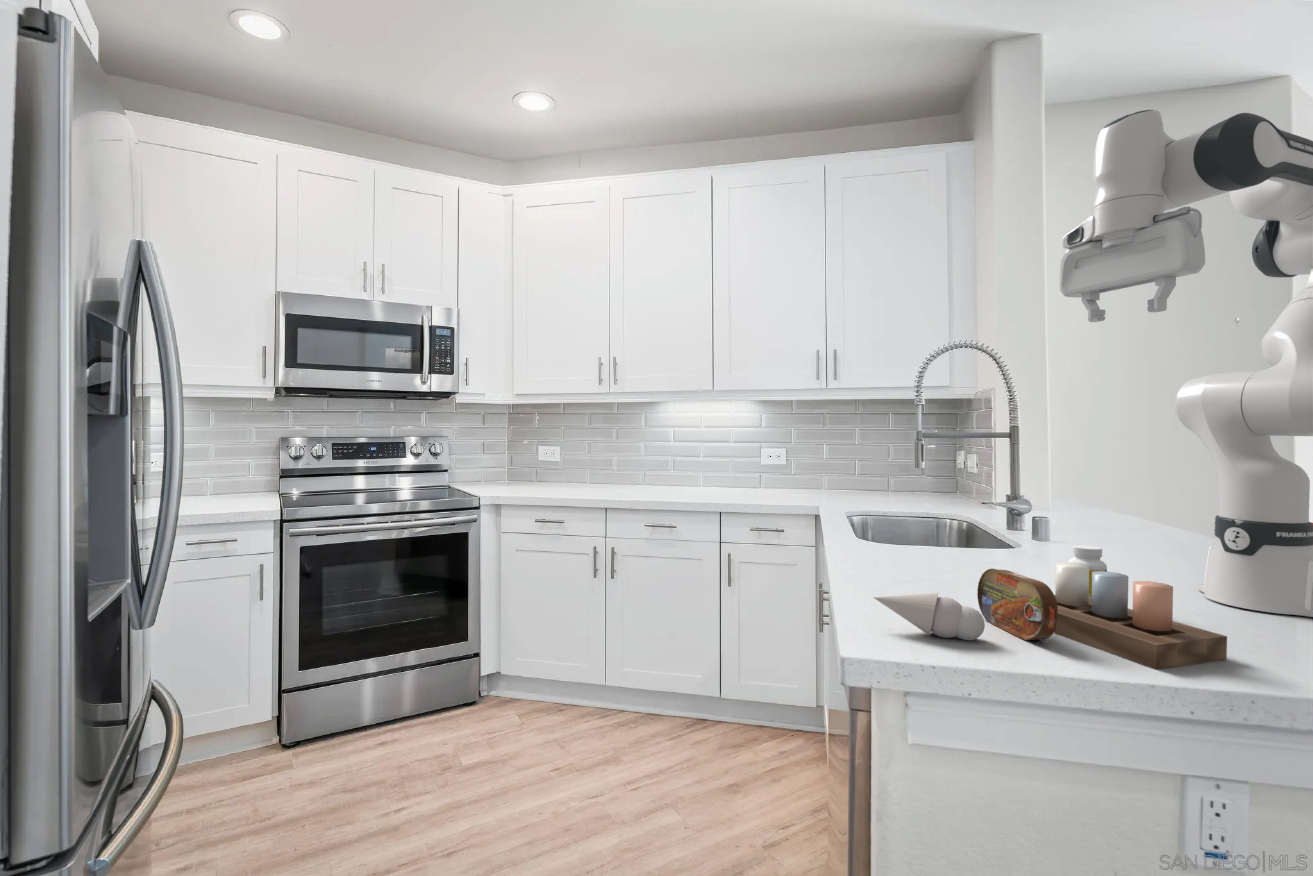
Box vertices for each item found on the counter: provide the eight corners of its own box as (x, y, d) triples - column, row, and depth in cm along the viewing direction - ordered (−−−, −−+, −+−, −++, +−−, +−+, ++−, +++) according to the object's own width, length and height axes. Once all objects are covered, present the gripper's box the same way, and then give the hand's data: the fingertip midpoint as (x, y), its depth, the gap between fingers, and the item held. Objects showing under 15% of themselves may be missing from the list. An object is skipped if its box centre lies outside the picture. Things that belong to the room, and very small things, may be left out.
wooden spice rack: (1073, 611, 104) (1073, 593, 104) (1226, 659, 83) (1226, 636, 83) (1012, 617, 101) (1012, 598, 101) (1155, 669, 80) (1156, 645, 80)
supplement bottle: (1112, 611, 104) (1113, 550, 104) (1075, 609, 105) (1076, 549, 105) (1097, 602, 110) (1098, 544, 109) (1061, 600, 111) (1062, 543, 111)
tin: (975, 616, 102) (975, 562, 102) (994, 615, 102) (994, 562, 102) (1040, 649, 87) (1040, 586, 87) (1062, 648, 87) (1063, 586, 87)
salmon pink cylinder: (1148, 620, 89) (1148, 580, 89) (1180, 629, 85) (1181, 587, 85) (1124, 622, 88) (1125, 582, 88) (1156, 632, 84) (1156, 589, 84)
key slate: (1106, 608, 95) (1107, 570, 94) (1135, 616, 91) (1135, 577, 90) (1084, 610, 93) (1084, 572, 93) (1112, 619, 89) (1112, 579, 89)
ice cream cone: (868, 624, 97) (978, 656, 91) (867, 607, 93) (983, 640, 86) (877, 588, 100) (985, 616, 94) (877, 569, 96) (990, 598, 89)
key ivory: (1070, 597, 100) (1070, 562, 100) (1095, 604, 96) (1096, 567, 96) (1048, 599, 99) (1049, 563, 99) (1073, 607, 95) (1073, 569, 95)
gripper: (1218, 204, 89) (1216, 305, 89) (1083, 243, 109) (1081, 327, 109) (1184, 199, 87) (1181, 303, 88) (1053, 240, 107) (1051, 325, 107)
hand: (1125, 316), depth 98 cm, fingers open, 8 cm apart
